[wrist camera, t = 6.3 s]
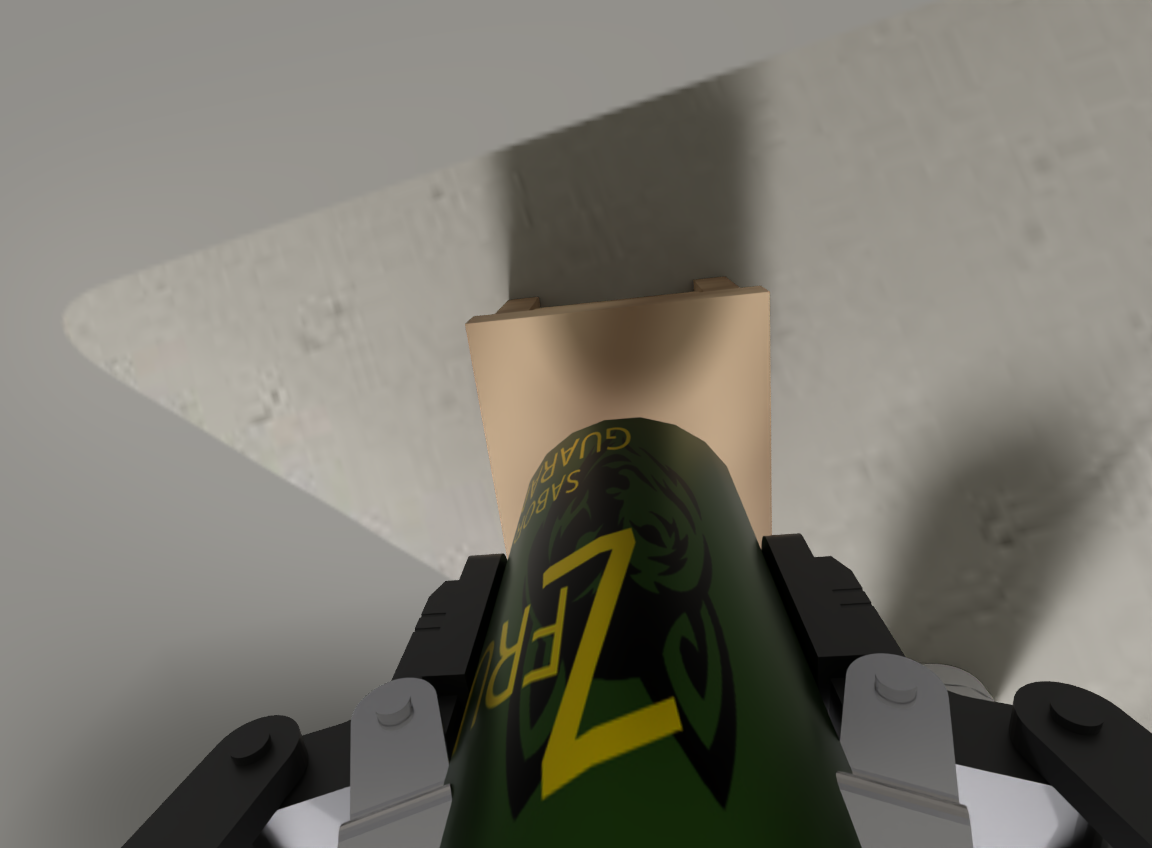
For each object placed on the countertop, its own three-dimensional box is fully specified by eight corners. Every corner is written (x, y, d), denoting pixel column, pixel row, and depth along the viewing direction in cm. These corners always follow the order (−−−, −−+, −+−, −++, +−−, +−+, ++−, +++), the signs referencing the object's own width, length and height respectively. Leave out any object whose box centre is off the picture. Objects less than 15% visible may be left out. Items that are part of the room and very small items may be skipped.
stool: (733, 267, 23) (769, 291, 18) (739, 481, 26) (771, 559, 21) (500, 293, 24) (465, 324, 19) (532, 497, 27) (510, 576, 22)
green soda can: (778, 493, 16) (1176, 1225, 5) (640, 622, 18) (688, 1390, 6) (617, 363, 15) (633, 893, 4) (487, 513, 17) (224, 1193, 5)
